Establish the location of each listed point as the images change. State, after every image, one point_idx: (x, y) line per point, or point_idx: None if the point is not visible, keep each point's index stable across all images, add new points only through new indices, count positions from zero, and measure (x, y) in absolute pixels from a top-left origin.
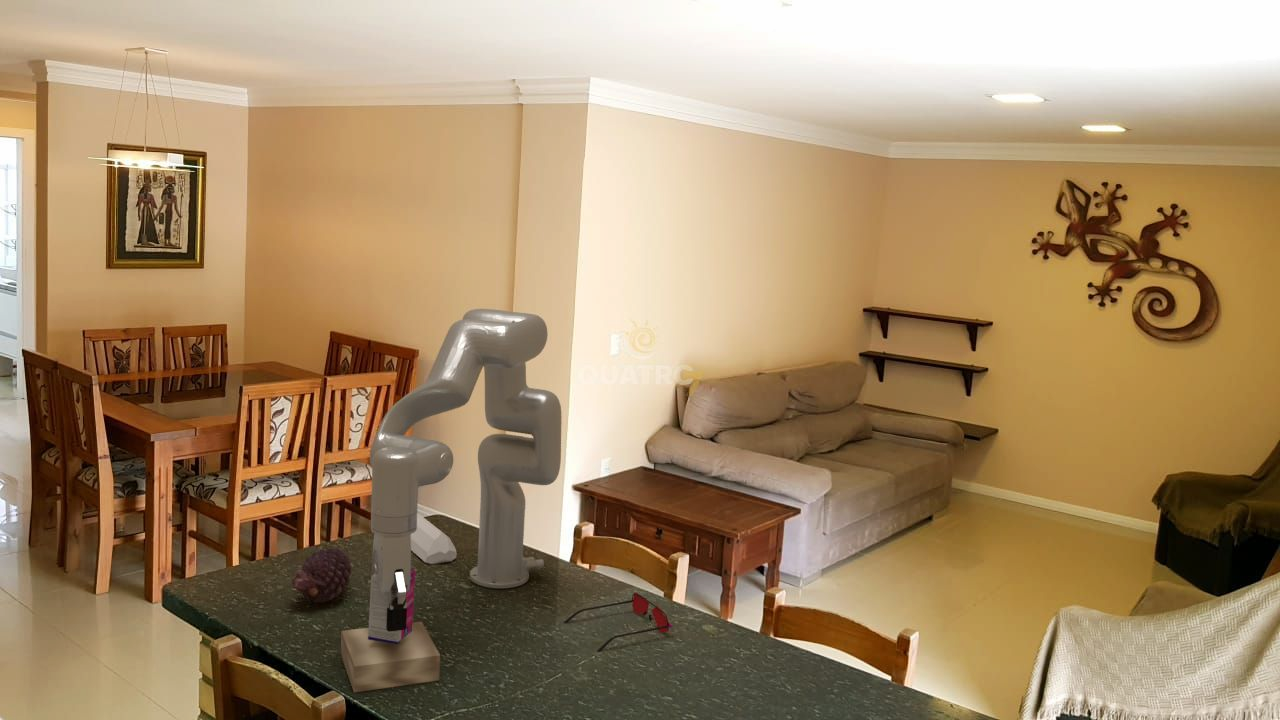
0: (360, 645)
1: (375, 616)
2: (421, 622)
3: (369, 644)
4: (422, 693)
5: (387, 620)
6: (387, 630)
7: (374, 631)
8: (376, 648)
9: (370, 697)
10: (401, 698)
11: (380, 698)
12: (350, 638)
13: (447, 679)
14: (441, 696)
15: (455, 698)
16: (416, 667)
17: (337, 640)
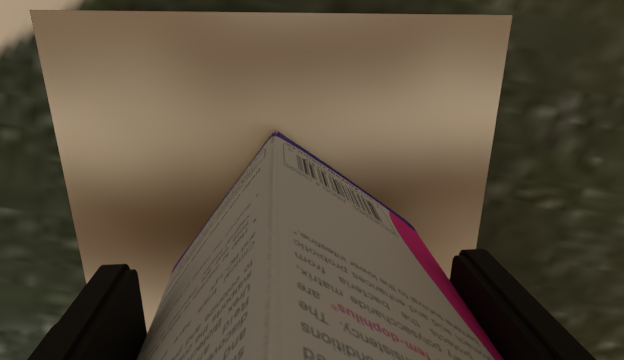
0: (297, 87)
1: (234, 230)
2: None
3: (296, 134)
4: (54, 260)
5: (66, 314)
6: (103, 267)
7: (244, 180)
8: (239, 160)
9: (43, 77)
10: (21, 188)
11: (29, 113)
12: (399, 48)
13: None
14: (23, 312)
15: (4, 347)
16: None
17: (587, 28)
